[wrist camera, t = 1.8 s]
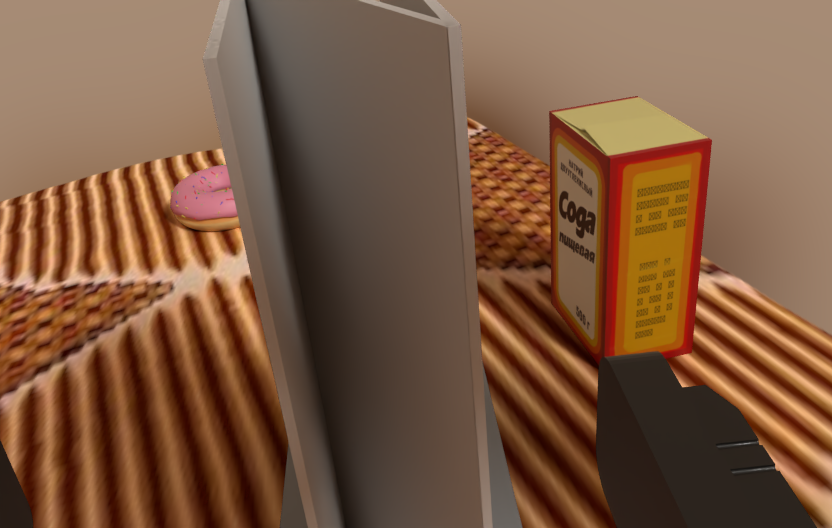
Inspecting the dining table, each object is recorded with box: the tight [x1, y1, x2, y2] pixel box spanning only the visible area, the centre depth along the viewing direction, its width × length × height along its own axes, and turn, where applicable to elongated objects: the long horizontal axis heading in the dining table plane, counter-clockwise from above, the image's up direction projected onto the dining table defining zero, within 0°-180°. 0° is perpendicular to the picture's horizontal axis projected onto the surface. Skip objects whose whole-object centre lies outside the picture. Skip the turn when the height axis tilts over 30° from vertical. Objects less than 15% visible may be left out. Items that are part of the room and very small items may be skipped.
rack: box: [280, 362, 522, 528], centre depth 43 cm, size 11×27×6 cm, turn 4°
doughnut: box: [170, 164, 240, 231], centre depth 82 cm, size 11×11×4 cm
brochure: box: [203, 0, 493, 528], centre depth 30 cm, size 14×6×30 cm, turn 9°
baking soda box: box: [549, 96, 712, 365], centre depth 55 cm, size 10×6×16 cm
